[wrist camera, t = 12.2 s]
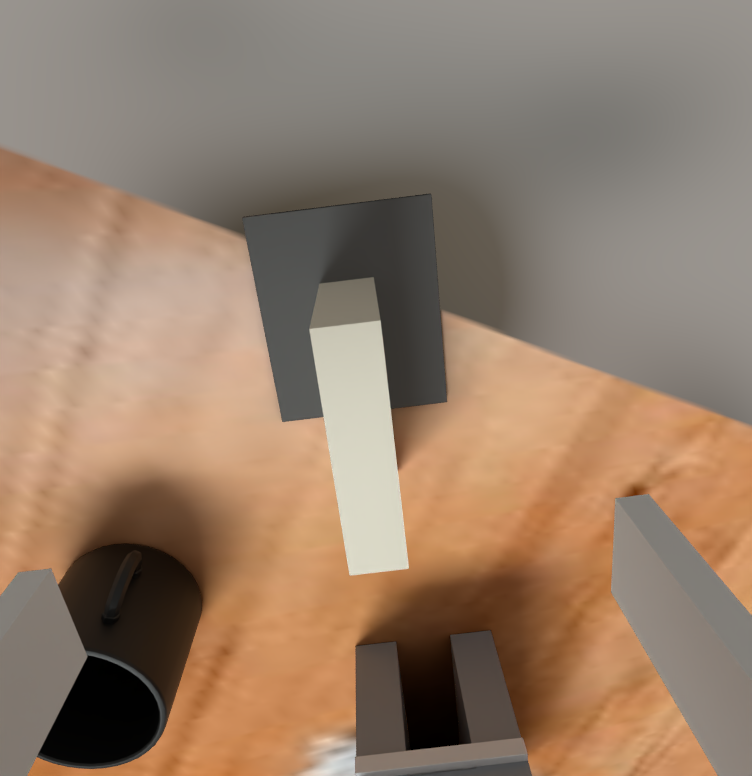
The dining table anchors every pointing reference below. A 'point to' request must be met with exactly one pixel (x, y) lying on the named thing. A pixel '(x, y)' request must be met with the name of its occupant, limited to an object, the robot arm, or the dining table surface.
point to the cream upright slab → (359, 424)
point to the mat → (348, 262)
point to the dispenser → (474, 713)
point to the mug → (123, 654)
